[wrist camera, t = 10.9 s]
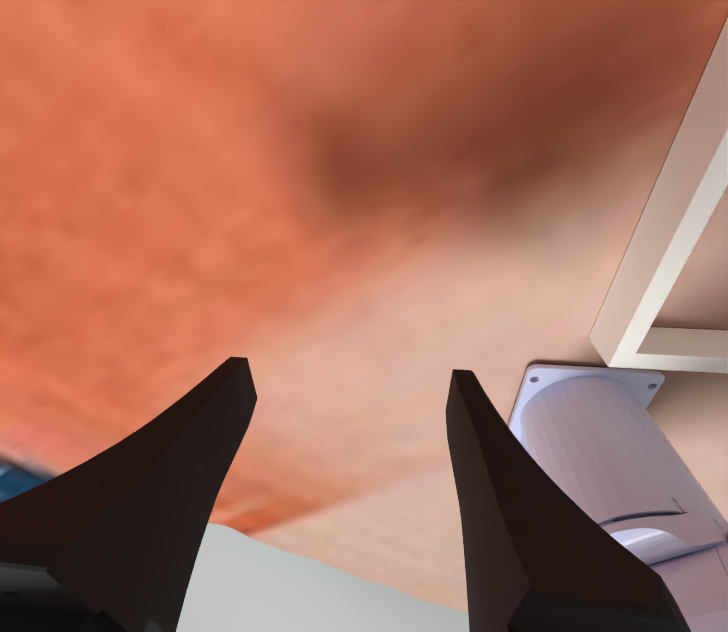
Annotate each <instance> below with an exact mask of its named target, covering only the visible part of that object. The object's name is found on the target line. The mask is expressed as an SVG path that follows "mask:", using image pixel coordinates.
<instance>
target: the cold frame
mask: <svg viewBox="0 0 728 632" xmlns="http://www.w3.org/2000/svg"><path fill="white" fill-rule="evenodd" d="M727 185H728V17H727V20H726V22H725V24H724V27H723V29H722V31H721V34H720V36H719V38H718V41H717V43H716V45H715V47H714V50H713V52H712V54H711V57H710V59H709V61H708V64H707V66H706V68H705V70H704V73H703V75H702V77H701V80H700V82H699V84H698V87H697V89H696V91H695V94H694V96H693V98H692V100H691V103H690V105H689V107H688V110H687V112H686V114H685V117H684V119H683V121H682V123H681V126H680V128H679V130H678V133H677V135H676V137H675V140H674V142H673V144H672V147H671V149H670V151H669V153H668V156H667V158H666V160H665V163H664V165H663V167H662V170H661V172H660V174H659V176H658V179H657V181H656V183H655V186H654V188H653V190H652V193H651V195H650V197H649V200H648V202H647V204H646V206H645V209H644V211H643V213H642V216H641V218H640V220H639V223H638V225H637V227H636V229H635V232H634V234H633V236H632V239H631V241H630V243H629V246H628V248H627V250H626V252H625V255H624V257H623V259H622V262H621V264H620V266H619V269H618V271H617V273H616V276H615V278H614V280H613V282H612V285H611V287H610V289H609V292H608V294H607V296H606V299H605V301H604V303H603V305H602V308H601V310H600V312H599V315H598V317H597V319H596V322H595V324H594V326H593V329H592V331H591V333H590V335H589V338H588V339H589V340H590V341H591V343H592V344H593V346H594V347H595V349H596V350H597V352H598V353H599V355H600V356H601V357H602V359H603V360H604V362H605V363H606V365H607V366H608V367H619V368H638V369H656V370H675V371H693V372H712V373H728V330H706V329H684V328H661V327H650V326H651V325H652V323H653V321H654V319H655V317H656V315H657V314H658V312H659V310H660V308H661V306H662V304H663V303H664V301H665V299H666V297H667V295H668V293H669V292H670V290H671V288H672V286H673V284H674V282H675V281H676V279H677V277H678V275H679V273H680V271H681V270H682V268H683V266H684V264H685V262H686V260H687V259H688V257H689V255H690V253H691V251H692V249H693V248H694V246H695V244H696V242H697V240H698V238H699V237H700V235H701V233H702V231H703V229H704V227H705V226H706V224H707V222H708V220H709V218H710V216H711V215H712V213H713V211H714V209H715V207H716V205H717V204H718V202H719V200H720V198H721V196H722V194H723V193H724V191H725V189H726V187H727Z"/></svg>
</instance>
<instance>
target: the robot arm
mask: <svg viewBox="0 0 728 632" xmlns="http://www.w3.org/2000/svg"><path fill="white" fill-rule="evenodd" d="M532 377H535V378H532ZM664 380H665V376H664V375H663V374H662V373H661V372H660V371H655V370H636V369H618V368H599V367H581V366H562V365H544V364H533V365H531V366H529V367H528V368H527V370H526V373H525V376H524V379H523V382H522V385H521V388H520V391H519V394H518V397H517V400H516V403H515V406H514V409H513V412H512V415H511V418H510V421H509V424H508V426H507V425H506V423H505V422H504V420H503V419H502V417H501V416H500V414H499V413H498V412H497V410H496V409H495V407H494V406H493V404H492V403H491V401H490V399H489V398H488V396H487V395H486V393H485V391H484V390H483V388H482V386H481V385H480V383H479V381H478V379H477V378H476V376H475V374H474V373H473V372H472V371H471V370H456V369H453V372H452V378H451V383H450V389H449V395H448V400H447V406H446V424H447V438H448V444H449V450H450V456H451V461H452V467H453V472H454V478H455V483H456V489H457V494H458V500H459V506H460V513H461V521H462V533H463V544H464V556H465V569H466V582H467V597H468V613H469V628H470V632H728V523H727V521H726V520H725V519H724V517H723V516H722V514H721V513H720V512H719V510H718V509H717V508H716V506H715V505H714V503H713V502H712V501H711V499H710V498H709V496H708V495H707V494H706V492H705V491H704V489H703V488H702V487H701V485H700V484H699V482H698V481H697V480H696V478H695V477H694V475H693V474H692V473H691V471H690V470H689V468H688V467H687V466H686V464H685V463H684V462H683V460H682V459H681V457H680V456H679V455H678V453H677V452H676V450H675V449H674V448H673V446H672V445H671V443H670V442H669V441H668V439H667V438H666V436H665V435H664V434H663V432H662V431H661V429H660V428H659V427H658V425H657V424H656V422H655V421H654V420H653V418H652V417H651V416H650V414H649V413H648V411H647V410H646V408H647V407H648V405H649V404H650V402H651V401H652V399H653V397H654V396H655V394H656V393H657V391H658V390H659V388H660V386H661V385H662V383H663V382H664ZM256 401H257V395H256V391H255V387H254V383H253V379H252V375H251V371H250V367H249V363H248V359H247V358H242V357H230V358H229V359H227V360H226V361H225V362H224V363H222V364H221V365H220V366H219V367H218V368H217V369H215V370H214V371H213V372H212V373H211V374H210V375H208V376H207V377H206V378H205V379H204V380H203V381H201V382H200V383H199V384H198V385H197V386H195V387H194V388H193V389H192V390H191V391H189V392H188V393H187V394H186V395H184V396H183V397H182V398H181V399H179V400H178V401H177V402H175V403H174V404H173V405H172V406H170V407H169V408H168V409H166V410H165V411H164V412H162V413H161V414H160V415H158V416H157V417H156V418H154V419H153V420H152V421H150V422H149V423H147V424H146V425H145V426H143V427H142V428H140V429H139V430H137V431H136V432H134V433H133V434H131V435H129V436H128V437H126V438H125V439H123V440H122V441H120V442H119V443H117V444H115V445H113V446H112V447H110V448H108V449H107V450H105V451H103V452H101V453H100V454H98V455H96V456H95V457H93V458H91V459H89V460H88V461H86V462H84V463H82V464H80V465H79V466H77V467H75V468H73V469H71V470H69V471H67V472H65V473H63V474H61V475H59V476H57V477H55V478H53V479H51V480H49V481H47V482H45V483H43V484H41V485H39V486H37V487H35V488H33V489H31V490H28V491H26V492H24V493H22V494H19V495H17V496H15V497H13V498H11V499H8V500H6V501H4V502H2V503H0V632H176V628H177V624H178V621H179V617H180V613H181V610H182V606H183V602H184V598H185V594H186V591H187V588H188V584H189V581H190V577H191V574H192V571H193V567H194V564H195V560H196V557H197V553H198V551H199V547H200V545H201V541H202V538H203V535H204V532H205V529H206V526H207V523H208V520H209V517H210V514H211V512H212V509H213V506H214V503H215V500H216V497H217V495H218V492H219V490H220V487H221V485H222V483H223V480H224V478H225V476H226V474H227V472H228V470H229V468H230V465H231V463H232V461H233V459H234V457H235V455H236V452H237V450H238V448H239V446H240V444H241V442H242V439H243V437H244V435H245V433H246V431H247V428H248V426H249V424H250V420H251V417H252V414H253V411H254V408H255V404H256Z"/></svg>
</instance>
